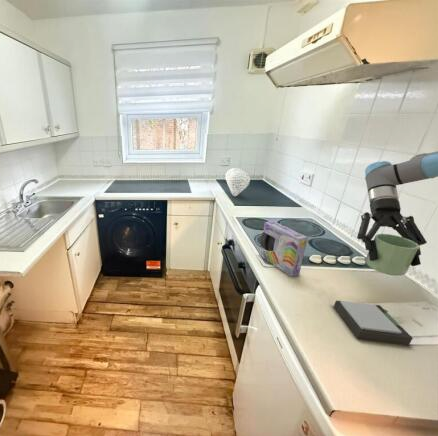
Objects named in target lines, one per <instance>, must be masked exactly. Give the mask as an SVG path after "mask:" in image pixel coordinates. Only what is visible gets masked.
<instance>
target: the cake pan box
mask: <svg viewBox="0 0 438 436" xmlns="http://www.w3.org/2000/svg"><path fill="white" fill-rule="evenodd" d="M307 241H308V236H306V235H304V234H302V233H299V232H297V231H295V230H294V229H292V228H290V227H288V226H286V225H282V224H280V223H278V222H276V221H274V220H269V221H265V222H264V226H263V232H262V233H261V236H260V250H259V256H260V258H262V259H264V260H266V261H267V262H269V263H270V264H272V265H273V266H274V267H276V268H278V270H281V271H282V272H283V273H285V274H286V275H288V276H290V277H295V276H299V275H300V272H301V269H302V263H303V260H304V255H305V251H306V247H307V243H308V242H307Z"/></svg>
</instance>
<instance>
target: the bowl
mask: <svg viewBox="0 0 438 436" xmlns="http://www.w3.org/2000/svg"><path fill="white" fill-rule="evenodd" d="M373 240H375V242H376V249H377V255H378V259H377V260H374V261H370V257H369V251H368V252H367V255H366V257H365V259H364V262H365V264H366V265H367V266H368V267H369V268H371V269H372V270H374V271H376V272H378V273H381V274H383V275H384V274H385V275H389V276H395V277H396V276H397V277H399V276H405V275H406V274H407V273H408V271H409V269H410V267H411V263H412V261H413V259H414V257H415V255H416V253H417V251H418V249H419V247H420V246H421V245H420V246H419V245H418V244H417V243H415V242H414V241H412V240H409V239H406V238H403V237H402V236H401V235H395V234H391V233H390V234H388V233H376V234H375V235H374V237H373Z"/></svg>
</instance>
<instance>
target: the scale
mask: <svg viewBox="0 0 438 436" xmlns="http://www.w3.org/2000/svg"><path fill="white" fill-rule="evenodd" d="M333 309H334V310H335V312H336V313H337V314H338V316H339V317H340V318H341V319H342V321H343V322H344V324H345V325H346V326H347V327H348V329H349V331H351V333H352V334H353V335H354V337H355V338H356V339H357V340H362V341H369V342H376V343H377V342H378V343H384V344H393V345H401V346H408V347H409V346H410V344H411V342H412V341H413V339H414V337H412V336H411V335H410V333H408V332H407V331H406V329H404V328H403V327H402V326H401V325H400V323H398V321H396V320H395V318H393V316H391V314H389V313H388V312H387V311H386V309H384V308H383V307H382V306H381V305H380V304H375V303H374V304H372V303H365V302H354V301H345V300H335V302H334V305H333Z"/></svg>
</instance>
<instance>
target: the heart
mask: <svg viewBox="0 0 438 436" xmlns="http://www.w3.org/2000/svg"><path fill="white" fill-rule="evenodd" d="M224 177H225V181H226V183H227V186H228V188H229V191H230V193H231V195H232V196H233V197H237V196H238V195H240V193H242V192H243V191H244V190H245V189H246V188H247V187H249V185H250V182H251V176H250V175H249V173H247V172H246V171H244V170H243V169H242V168H239V167H232V168H230V169H228V170H227V171H226V172H225V175H224ZM235 178H236V180H235Z"/></svg>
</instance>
